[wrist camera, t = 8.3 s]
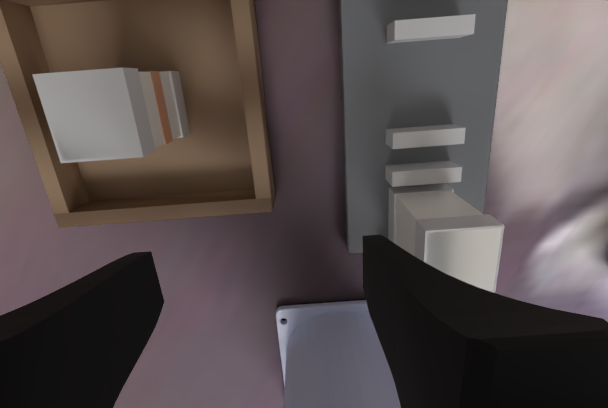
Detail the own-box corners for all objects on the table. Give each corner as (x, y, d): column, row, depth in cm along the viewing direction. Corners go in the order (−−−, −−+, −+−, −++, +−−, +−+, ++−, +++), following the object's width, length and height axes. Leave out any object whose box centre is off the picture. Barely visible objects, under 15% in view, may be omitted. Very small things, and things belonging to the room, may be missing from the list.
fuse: (441, 234, 21) (495, 292, 15) (388, 237, 21) (421, 297, 15) (444, 183, 19) (504, 225, 14) (388, 187, 20) (425, 231, 14)
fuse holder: (471, 243, 22) (492, 262, 20) (346, 251, 22) (352, 272, 20) (513, -158, 15) (552, -201, 13) (333, -142, 15) (339, -183, 13)
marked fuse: (190, 133, 19) (143, 157, 13) (132, 138, 19) (60, 163, 13) (178, 71, 18) (122, 67, 12) (117, 75, 18) (32, 74, 12)
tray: (275, 196, 21) (272, 211, 18) (85, 210, 21) (58, 227, 18) (251, -28, 17) (243, -45, 14) (17, -9, 17) (-29, -23, 14)
